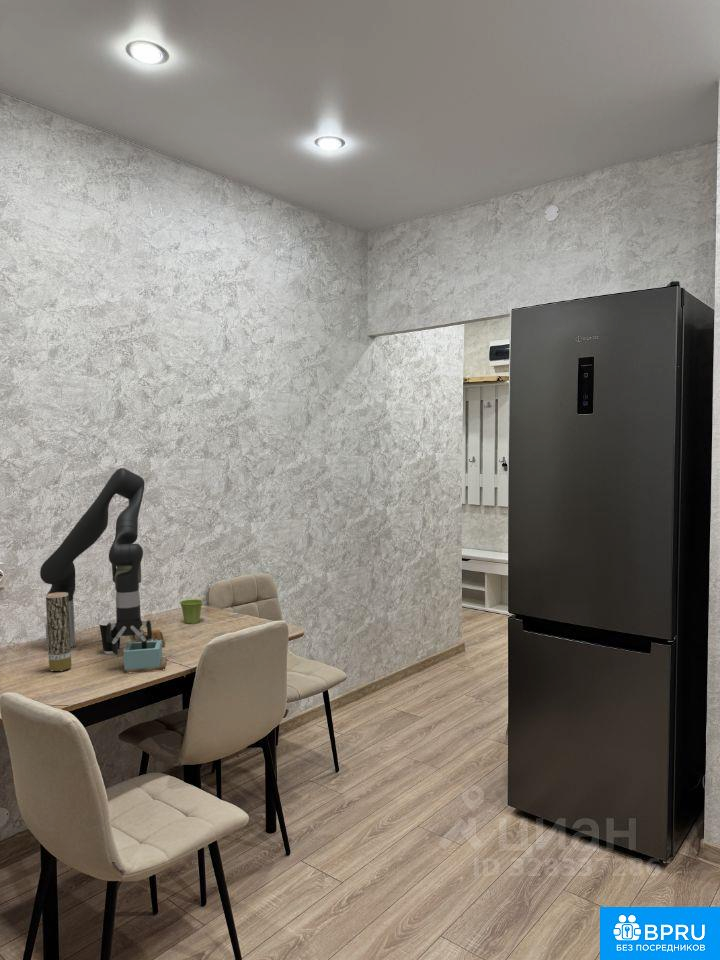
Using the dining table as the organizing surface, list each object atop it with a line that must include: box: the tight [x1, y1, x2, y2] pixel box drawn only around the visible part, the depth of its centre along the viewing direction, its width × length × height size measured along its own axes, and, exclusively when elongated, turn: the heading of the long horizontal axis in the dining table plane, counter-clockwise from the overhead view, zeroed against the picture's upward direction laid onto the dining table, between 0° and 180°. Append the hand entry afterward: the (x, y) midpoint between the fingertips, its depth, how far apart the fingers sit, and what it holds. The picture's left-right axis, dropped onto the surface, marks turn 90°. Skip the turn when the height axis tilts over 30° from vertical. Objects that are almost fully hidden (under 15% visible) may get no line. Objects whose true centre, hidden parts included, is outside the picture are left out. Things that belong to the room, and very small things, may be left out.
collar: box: [123, 639, 163, 671], centre depth 233 cm, size 11×11×6 cm
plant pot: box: [179, 598, 204, 624], centre depth 291 cm, size 9×9×9 cm
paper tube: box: [45, 592, 72, 672], centre depth 232 cm, size 7×7×25 cm
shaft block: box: [125, 656, 168, 674], centre depth 233 cm, size 12×12×4 cm
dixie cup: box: [98, 618, 121, 655], centre depth 251 cm, size 8×8×11 cm
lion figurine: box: [129, 628, 166, 648], centre depth 253 cm, size 15×5×9 cm, turn 145°
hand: (130, 653), depth 232 cm, fingers open, 8 cm apart
